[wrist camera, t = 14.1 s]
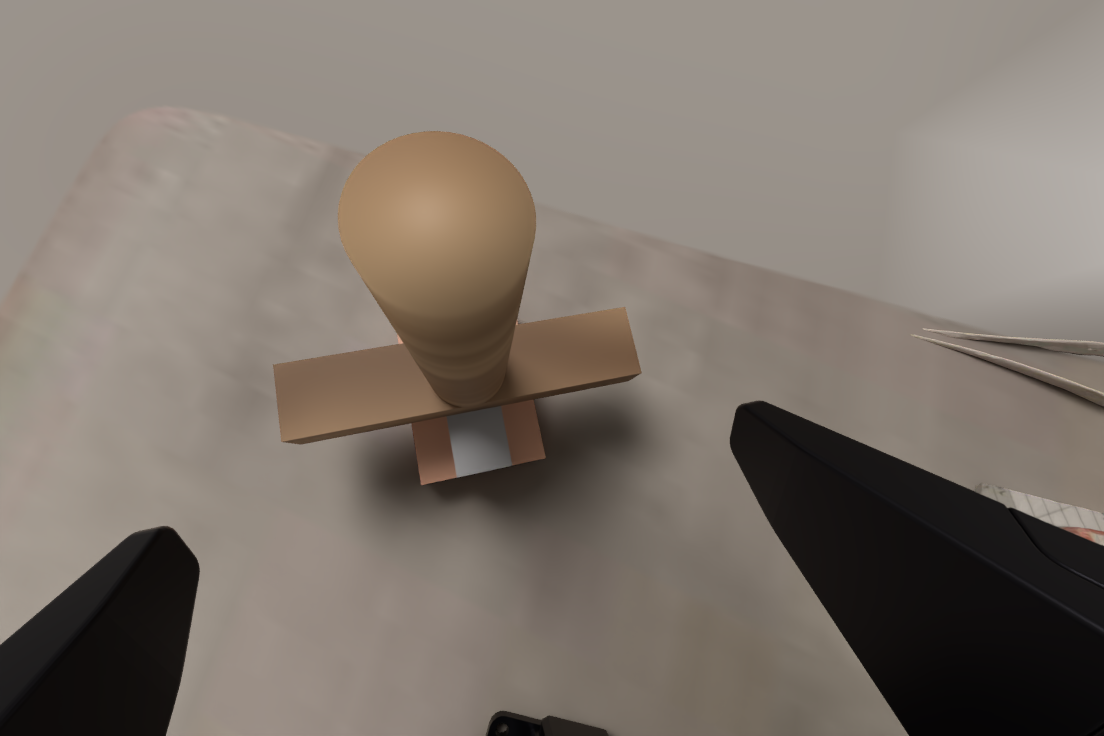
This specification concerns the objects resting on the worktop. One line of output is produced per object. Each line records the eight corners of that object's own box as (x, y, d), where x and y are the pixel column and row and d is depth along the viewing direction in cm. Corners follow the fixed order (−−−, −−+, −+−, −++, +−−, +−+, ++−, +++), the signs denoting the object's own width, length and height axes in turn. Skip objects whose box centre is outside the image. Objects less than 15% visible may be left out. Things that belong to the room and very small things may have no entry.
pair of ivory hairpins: (1129, 352, 28) (1175, 343, 26) (1136, 432, 27) (1184, 428, 25) (843, 291, 28) (868, 277, 26) (839, 369, 26) (864, 361, 24)
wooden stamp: (628, 382, 18) (853, 246, 7) (300, 445, 16) (-105, 393, 5) (613, 319, 19) (802, 97, 8) (292, 373, 17) (-95, 178, 6)
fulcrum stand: (540, 459, 21) (552, 457, 17) (427, 483, 20) (413, 486, 17) (510, 312, 23) (515, 279, 19) (402, 329, 22) (384, 299, 18)
